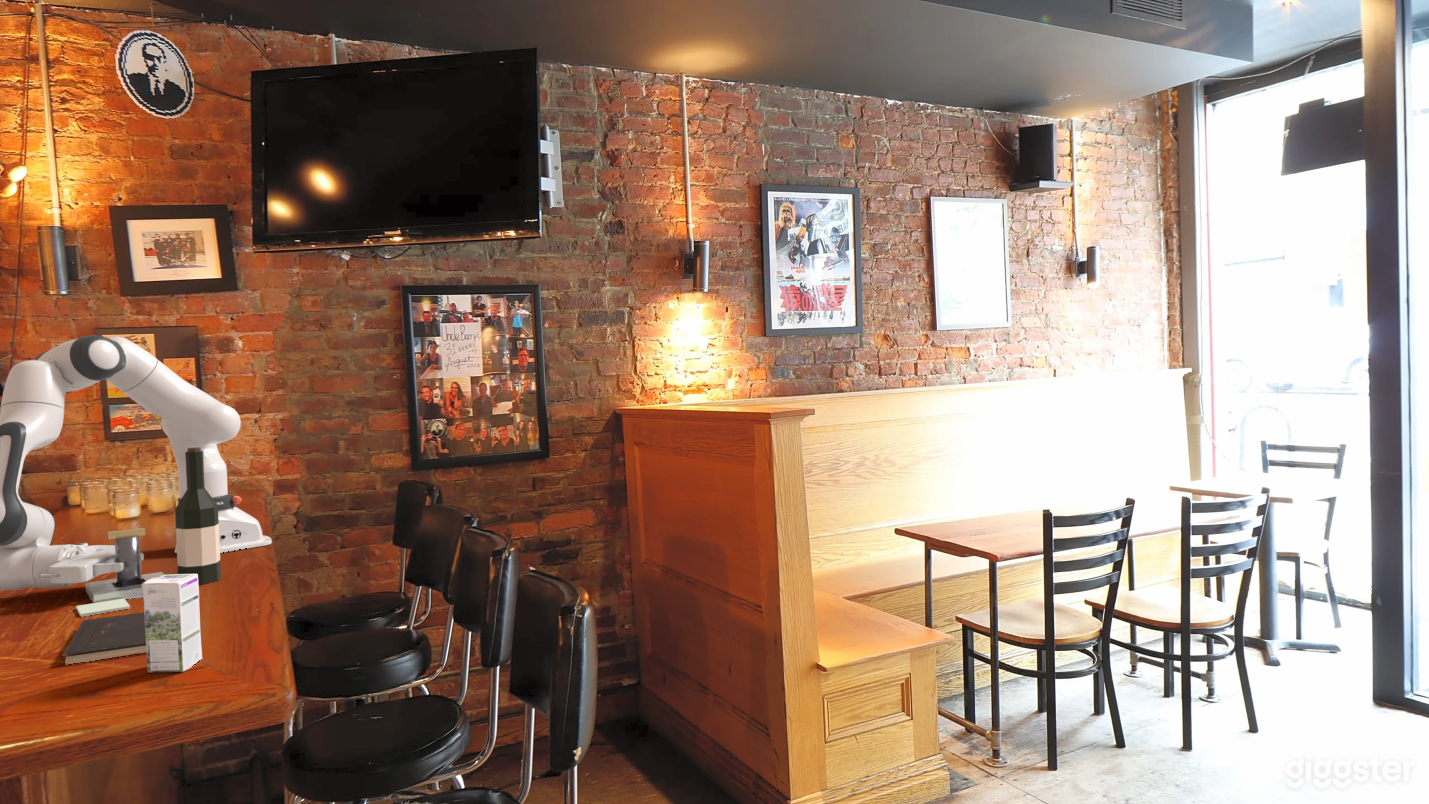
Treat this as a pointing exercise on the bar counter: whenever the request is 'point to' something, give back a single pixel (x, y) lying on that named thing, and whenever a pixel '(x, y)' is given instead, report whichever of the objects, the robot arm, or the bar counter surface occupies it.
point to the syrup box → (172, 622)
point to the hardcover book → (107, 638)
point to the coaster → (102, 607)
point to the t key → (128, 555)
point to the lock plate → (116, 589)
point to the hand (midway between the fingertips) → (133, 561)
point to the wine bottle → (197, 525)
